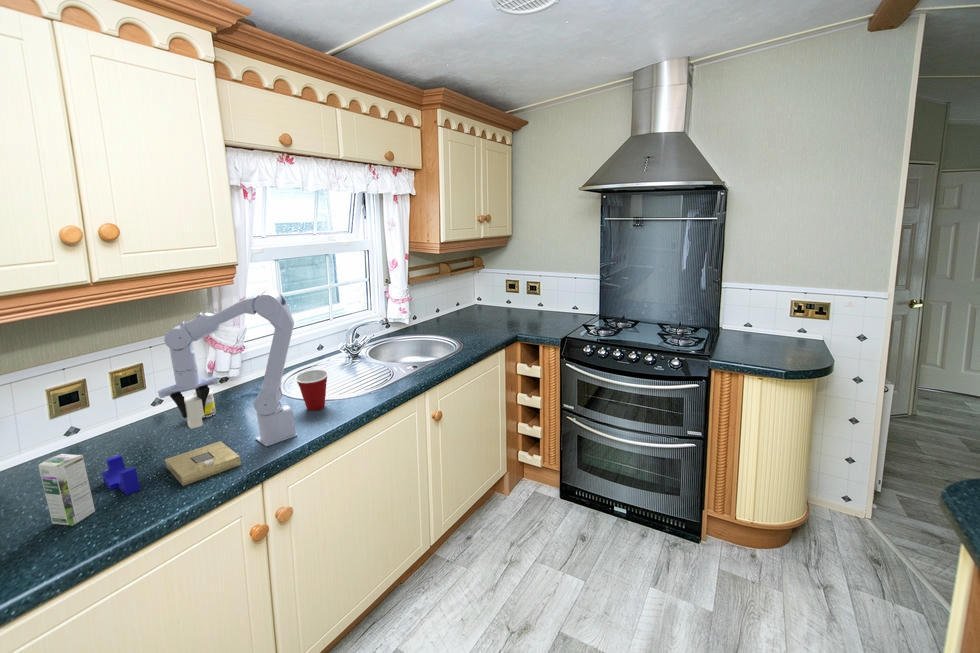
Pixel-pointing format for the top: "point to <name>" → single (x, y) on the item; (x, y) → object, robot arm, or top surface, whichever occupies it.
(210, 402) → the supplement bottle
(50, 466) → the syrup box
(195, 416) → the plug
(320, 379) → the plastic cup
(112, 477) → the cable clip
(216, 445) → the socket plate
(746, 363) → the top surface
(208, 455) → the panel
